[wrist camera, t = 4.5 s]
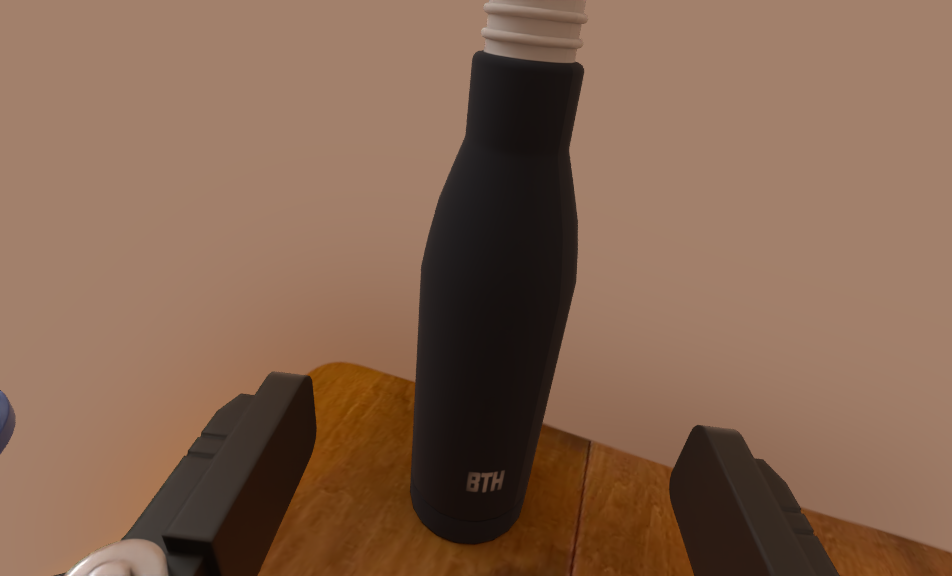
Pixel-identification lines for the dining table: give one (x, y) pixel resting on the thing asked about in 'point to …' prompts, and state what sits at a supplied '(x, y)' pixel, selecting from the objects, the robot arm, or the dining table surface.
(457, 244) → the insulated water bottle
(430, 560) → the dining table surface
